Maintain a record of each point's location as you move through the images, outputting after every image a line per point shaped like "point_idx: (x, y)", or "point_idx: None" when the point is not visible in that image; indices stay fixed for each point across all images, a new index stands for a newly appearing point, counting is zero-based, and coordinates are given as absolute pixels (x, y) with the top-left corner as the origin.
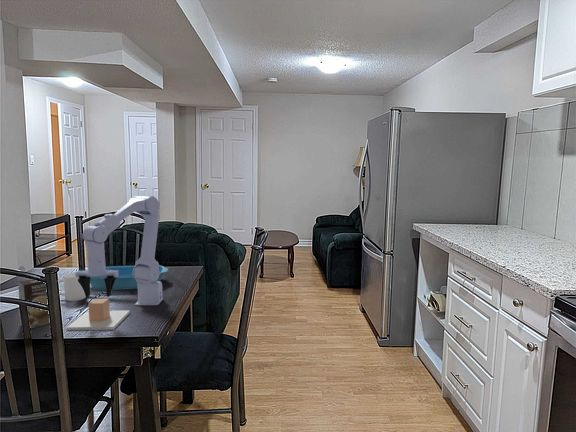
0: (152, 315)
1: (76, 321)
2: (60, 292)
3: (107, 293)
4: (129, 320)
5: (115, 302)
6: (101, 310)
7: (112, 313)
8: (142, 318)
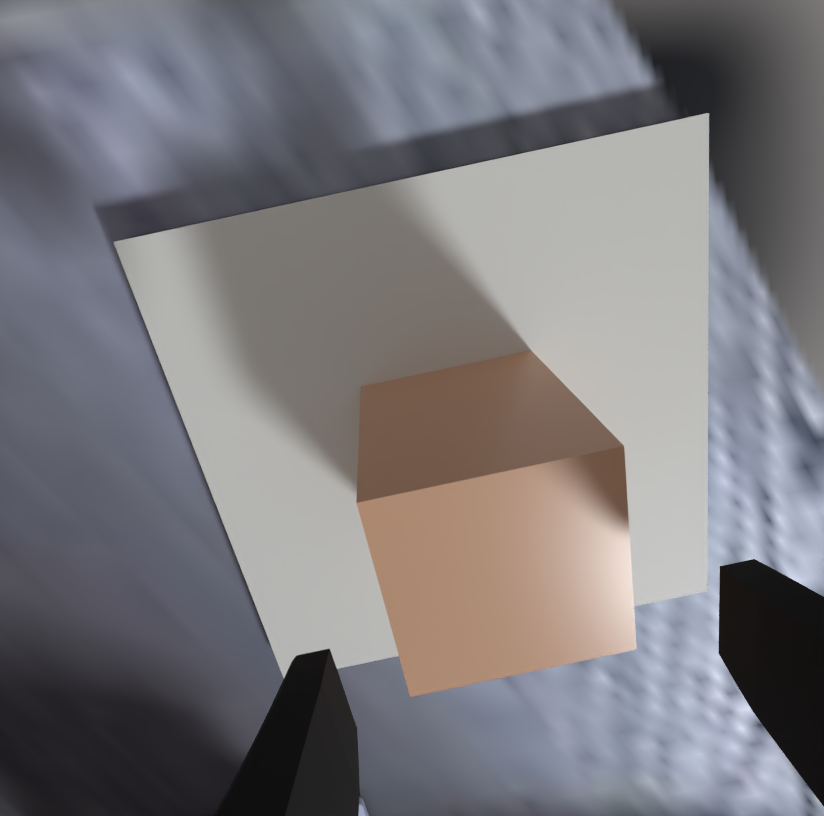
0: (19, 654)
1: (679, 315)
2: None
3: (293, 709)
4: (153, 506)
5: (575, 808)
6: (388, 438)
7: None
8: (58, 575)
